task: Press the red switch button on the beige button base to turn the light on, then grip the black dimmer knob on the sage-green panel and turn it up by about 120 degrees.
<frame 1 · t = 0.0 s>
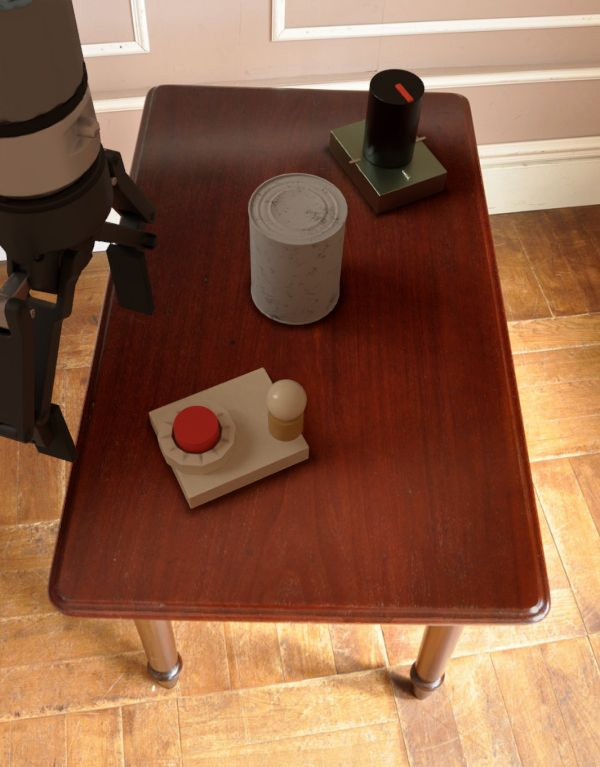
hand: (100, 376, 63), 19 cm above the table, tool pointing down, fingers open, 13 cm apart
dimmer knob: (392, 118, 97), point 8 cm above the table, hinge at 0.0°
lamp button: (196, 429, 78), point 4 cm above the table, slide at 0.1 cm
beige button base: (229, 441, 82), on the table
unlabeled tin can: (295, 290, 93), on the table
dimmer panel: (385, 170, 103), on the table
led lamp: (285, 426, 78), resting on beige button base
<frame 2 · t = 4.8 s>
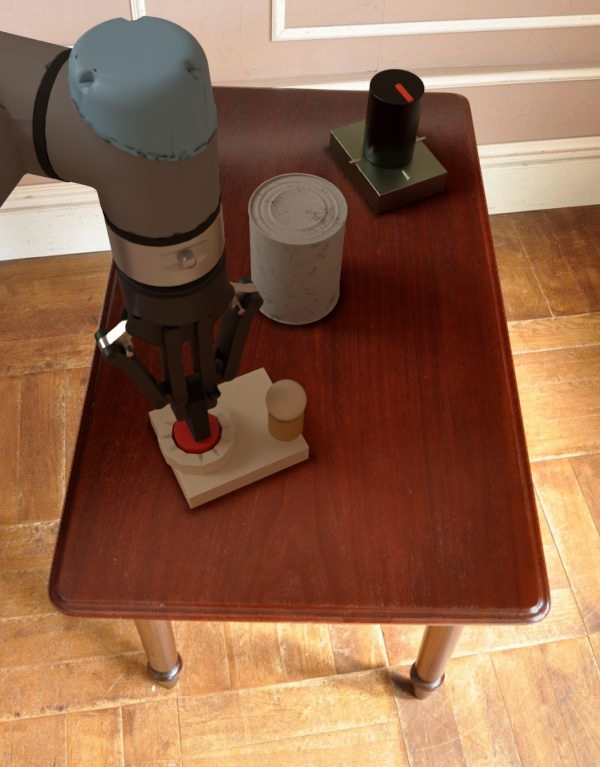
hand: (197, 427, 77), 5 cm above the table, tool pointing down, fingers closed
lamp button: (197, 433, 78), point 4 cm above the table, slide at -0.7 cm, touching gripper
everything else where it was.
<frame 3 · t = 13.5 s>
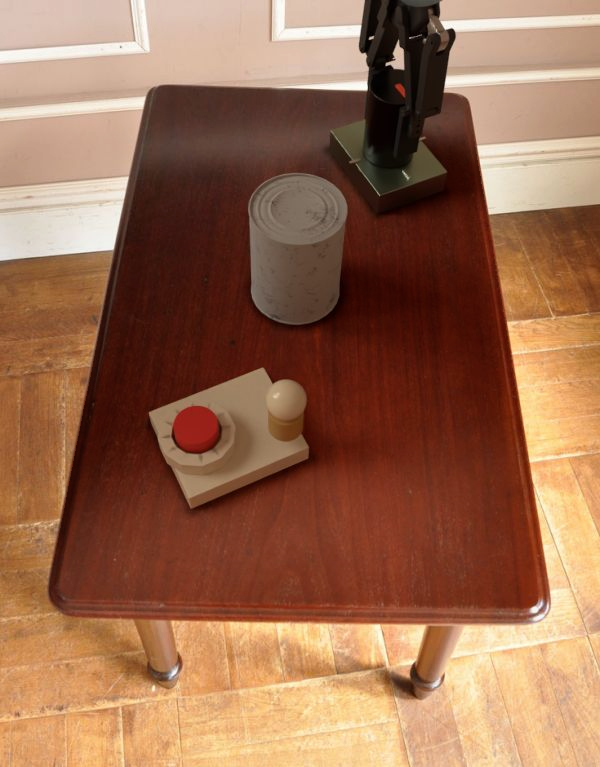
hand: (390, 134, 99), 5 cm above the table, tool pointing down, fingers closed on dimmer knob, 6 cm apart
dimmer knob: (392, 118, 97), point 8 cm above the table, hinge at 0.1°, touching gripper
lamp button: (196, 429, 78), point 4 cm above the table, slide at 0.1 cm
everything else where it was.
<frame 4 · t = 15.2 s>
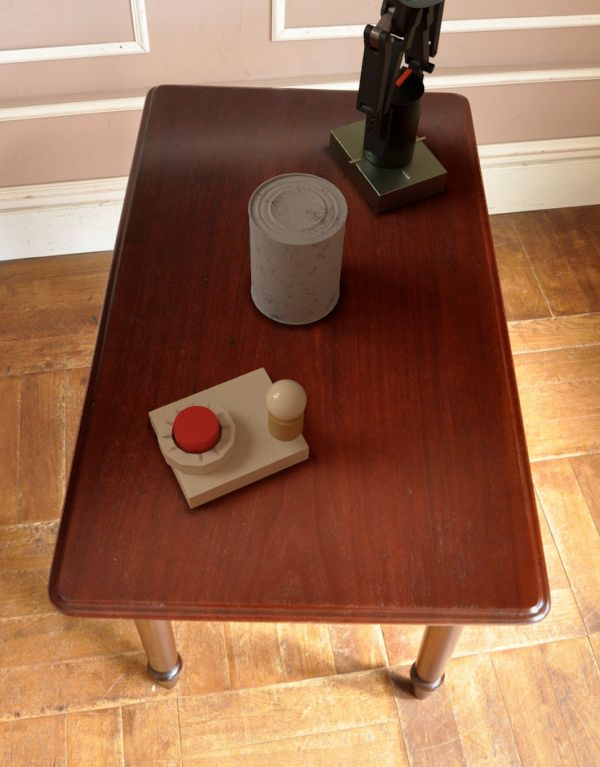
hand: (390, 134, 99), 5 cm above the table, tool pointing down, fingers open, 6 cm apart
dimmer knob: (392, 118, 97), point 8 cm above the table, hinge at 122.3°
everything else where it was.
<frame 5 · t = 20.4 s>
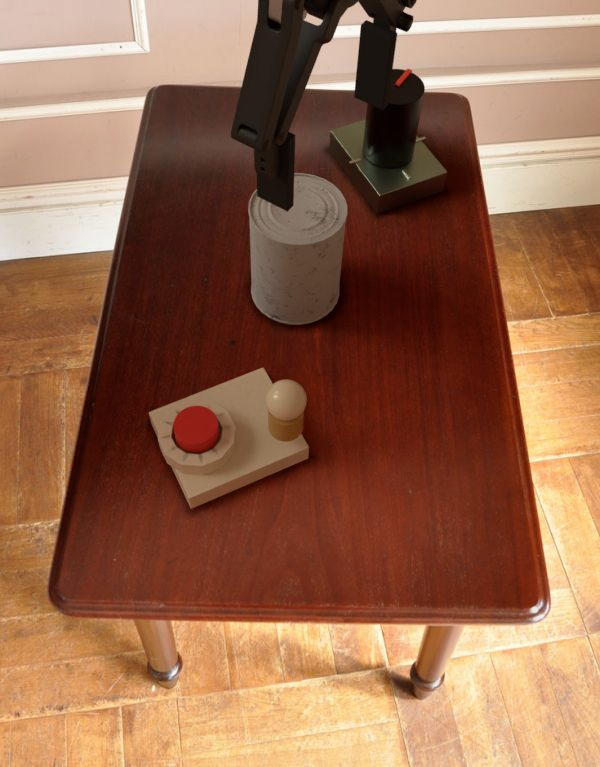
hand: (325, 149, 66), 27 cm above the table, tool pointing down, fingers open, 13 cm apart
nothing on the table moved.
at the end: lamp button pushed in 1.0 cm at the most during the clip, back to where it started at the end; lamp button slide at 0.1 cm; dimmer knob at +122° (first picture: +0°) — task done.
